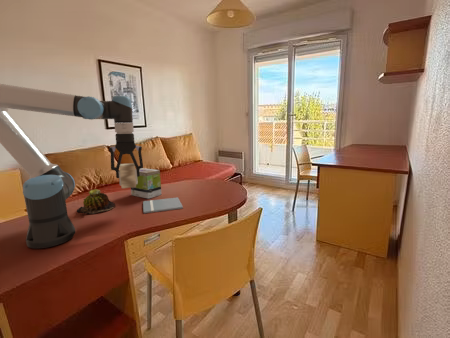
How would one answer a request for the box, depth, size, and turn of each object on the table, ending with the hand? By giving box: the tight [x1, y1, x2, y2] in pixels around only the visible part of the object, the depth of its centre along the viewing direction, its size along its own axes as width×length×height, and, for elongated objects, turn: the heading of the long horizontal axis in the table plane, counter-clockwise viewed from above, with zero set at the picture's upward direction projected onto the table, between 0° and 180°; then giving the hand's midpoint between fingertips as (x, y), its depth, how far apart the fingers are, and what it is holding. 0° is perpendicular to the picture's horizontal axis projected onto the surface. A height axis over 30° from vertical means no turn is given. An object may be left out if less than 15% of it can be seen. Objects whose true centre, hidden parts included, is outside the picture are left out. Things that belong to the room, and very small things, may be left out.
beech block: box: [119, 162, 136, 189], centre depth 109 cm, size 6×6×10 cm
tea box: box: [130, 167, 162, 200], centre depth 138 cm, size 15×10×15 cm, turn 58°
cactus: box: [76, 188, 116, 215], centre depth 118 cm, size 17×16×10 cm
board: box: [142, 197, 184, 214], centre depth 121 cm, size 18×16×1 cm
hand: (128, 184), depth 110 cm, fingers closed on beech block, 6 cm apart
